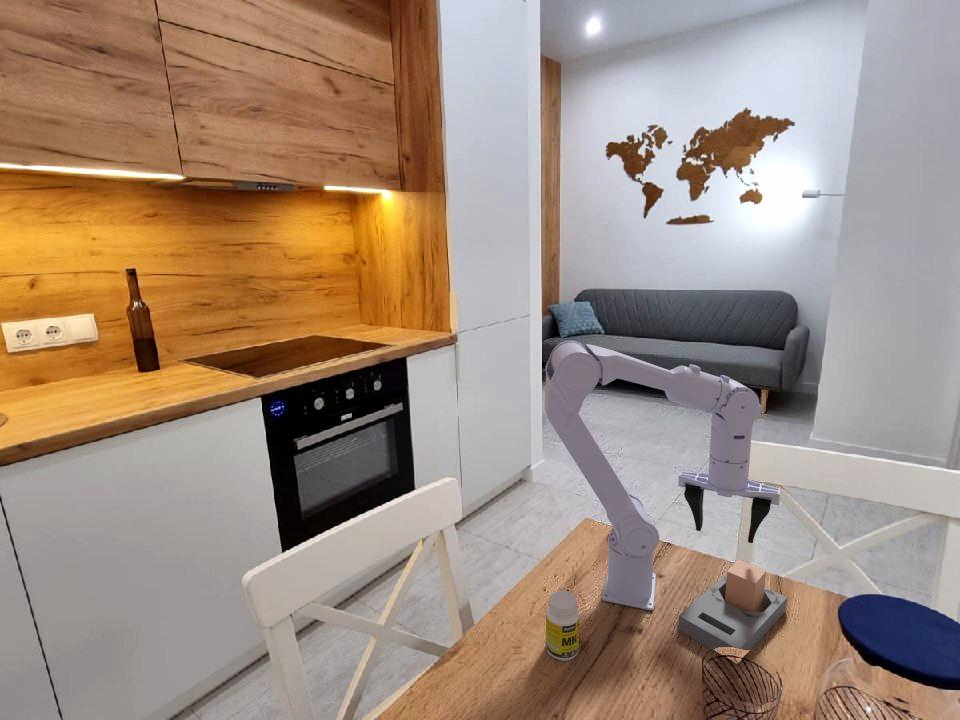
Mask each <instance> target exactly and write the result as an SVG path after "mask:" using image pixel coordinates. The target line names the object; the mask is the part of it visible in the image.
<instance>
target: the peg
mask: <svg viewBox="0 0 960 720" xmlns="http://www.w3.org/2000/svg"><path fill="white" fill-rule="evenodd" d="M726 574H727V580H726V593H725V596H724V601H725V602H727V603H729V604H731V605H732V606H734V607H736V608H738V609H740V610H742V611H752V612H763V607H764V606H763V597H764V587H766V586H765V585H766V577H767V575H766V574H767V571H766V570H765V569H762V568H760V567H757V566H755V565H752V564H750V563H747V562H745V561H742V560H740V559H737V560H736V561H735V562H734V563H733V565H732V566H731V567H730V568H729V569H728V570H727V571H726Z"/></svg>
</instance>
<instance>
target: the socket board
mask: <svg viewBox="0 0 960 720" xmlns="http://www.w3.org/2000/svg"><path fill="white" fill-rule="evenodd" d="M726 580H727V573H726V574H724V575H723V576H722V577H721V578H720V579H719V580H718V581H716V582H715V583H714V584H712V586H711V587H709V588H708V589H707V590H706V591H705V592H704V593H703V594H701V595H700V596H699V597H698V598H697V599H696V600H694V601H693V602H692V603H691V604H690V605H689V606H688V607H686V608H685V609H684V610H683V611H682V612H681V613H680V614H678V623H677V630H678V631H680V633H683V634H684V635H686V636H688V637H689V638H691V639H693V640H695V641H696V642H698V643H700V644H701V645H703V646H705V647H706V648H708V649H710V650H711V651H713V649H715V648H718V647H734V648H739V649H743V650H751V651H752V650H753V649H754V648H755V646H757V645H758V643H759V642H760V641H761V640H762V639H763V638H764V637H765V635H766V634H767V633H768V632H769V631H770V630H771V629H772V628H773V626H774V625H775V624H776V623H777V622H778V621H779V619H780V618H781V617H782V616H783V615H784V614H785V613H786V612H787V605H788V604H787V602H788V597H787V596H785V595H783V594H781V593H779V592H777V591H774V590H771V589H769V588H767V587H766V586H765V587H764V597H763V607H764V609H765V610H763V611H761V612H752V611H742V610H740V609H738V608H736V607H734V606H732V605H731V604H729V603H727V602H725V593H726Z"/></svg>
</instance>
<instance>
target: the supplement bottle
mask: <svg viewBox="0 0 960 720" xmlns="http://www.w3.org/2000/svg"><path fill="white" fill-rule="evenodd" d="M545 648H546V651H547V654H548V655H550V657H552V658H554V659H556V660H558V661H562V662H563V661H565V662H566V661H570V660H573V659H574V658H575V657H576V656H577V655H578V653H579V651H580V613H579V609H578V600H577V596H576V595H574V594H573V593H572V592H570V591H567V590H564V589H563V590H561V589H560V590H556V591H553V592H551V593H550V595H549V596H548V606H547V608H546V610H545Z"/></svg>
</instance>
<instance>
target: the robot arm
mask: <svg viewBox="0 0 960 720" xmlns="http://www.w3.org/2000/svg"><path fill="white" fill-rule="evenodd" d="M585 345H586V346H584V345H583V344H582V343H580V342H578V341H576V340H564V341H562V342H560V343H558V344H557V345H556V346H555V347H554V348H553V349H552V351H551V353H550V355H549V358H548V360H547V362H546V364H545V391H544V395H545V396H544V411H545V415H546V417H547V420H548V421H549V423H550V425H551V426H552V428H553V429H554V431H555V433H556V434H557V435H558V437H559V439H560V440H561V442H562V444H563V445H564V447H565V448H566V449H567V452H568V453H569V455H570V456H571V458H572V459H573V460H574V462H575V464H576V465H577V468H578V469H579V470H580V472H581V473H582V475H583V477H584V478H585V479H586V482H587V483H588V484H589V486H590V488H591V489H592V491H593V493H594V494H595V496H597V497H596V498H598V500H599V502H600V503H601V505H602V506H603V508H604V510H605V512H606V517H607V519H608V521H609V523H610V525H611V527H612V528H611V530H610V532H609V535H608V544H607V545H608V547H607V549H608V550H607V551H608V552H607V574H606V579H605V584H604V588H603V592H602V595H601V596H602V597H601V599H602V601H604V602H608V603H613V604H617V605H623V606H628V607H632V608H633V607H634V608H638V609H642V610H647V611H653V610H654V608H655V607H654V605H655V604H654V603H655V590H656V578H657V573H655V572H654V555H655V554H654V552H655V550H656V549H657V547H658V545H659V543H660V533H659V530H658V529H657V527H656V526H655V524H654V523H652V521H651V518H650V517H649V515H648V513H647V512H646V510H645V508H644V504H643V502H642V501H641V500H640V499H639V498H638V496H635V495H633V494H631V493H630V492H629V491H628V489H627V487H626V486H625V485H624V484H623V482H622V480H621V479H620V477H619V476H618V474H617V473H616V471H615V469H614V468H613V466H612V464H611V463H610V461H609V459H608V458H607V456H606V455H605V453H604V452H603V449H601V447H600V445H599V443H598V442H597V440H596V439H595V437H594V436H593V434H592V432H591V430H590V428H589V427H588V425H587V424H586V423H585V421H584V419H583V418H582V416H581V414H580V411H581V408H582V406H583V402H584V400H585V399H586V398H587V397H588V396H589V395H590V393H591V392H592V391H593V389H594V388H595V387H596V386H597V385H598V383H600V384H601V386H606V385H608V384H609V383H611V382H613V381H615V380H616V379H618V380H623V381H627V382H630V383H633V384H634V383H635V384H639V385H641V386H642V385H643V386H646V387H650V388H653V389H657V390H659V391H660V390H661V391H664V393H665V395H666V398H667V399H668V401H670V402H673V403H675V404H679V405H681V406H684V407H689V408H692V409H695V410H698V411H701V412H705V413H708V414H711V427H710V440H709V441H710V443H709V444H710V445H709V461H708V472H691V471H689V472H688V471H680V473H679V474H678V485H677V486H678V487H680V488H684V493H683V495H684V499H685V500H686V502H687V504H688V506H689V508H690V511H691V512H692V516H693V520H694V525H695V531H697V532H701V531H702V529H703V523H704V514H703V513H704V510H703V509H704V508H703V507H704V493H705V491H711V492H715V493H717V495H718V496H720V497H726V498H732V497H733V496H737V497H743V498H749V499H752V502H751V507H750V508H751V509H750V511H751V512H750V524H749V525H750V526H749V532H748V536H747V543H749V544H753V543H754V538H755V535H756V533H757V531H758V529H759V527H760V525H761V524H762V522H763V521H764V520H765V518H766V517H767V516H768V514H769V513H770V510H771V505H774V506H779V505H780V496H781V488H779V487H773V486H771V485H770V486H769V485H766V484H763V483H760V482H757V481H754V480H750V479H749V473H750V460H751V447H752V445H751V444H752V433H753V427H754V426H753V425H754V423H755V421H756V420H757V419H758V418H759V417H760V415H761V413H762V410H763V405H762V404H760V398H759V397H758V394H757V393H756V392H755V391H754V390H752V389H751V388H749V387H747V386H745V385H744V384H742V383H740V382H739V381H737V380H734V379H732V378H731V377H730V376H726V375H724V374H721V375H720V376H718V375H717V376H716V375H713V374H710V373H707V372H705V371H701V370H702V369H701V367H700V366H698V365H695V364H693V363H690V364H689V365H688V366H686V365H679V366H676V367H674V368H672V369H667V368H663V367H661V366H658V365H655V364H652V363H649V362H647V361H643V360H641V359H638V358H636V357H633V356H630V355H627V354H625V353H621V352H619V351H617V350H616V351H615V350H612V349H609V348H605V347H601V346H598V345H594V344H587V343H585ZM586 347H587V348H588V349H589V350H587V348H586Z"/></svg>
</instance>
